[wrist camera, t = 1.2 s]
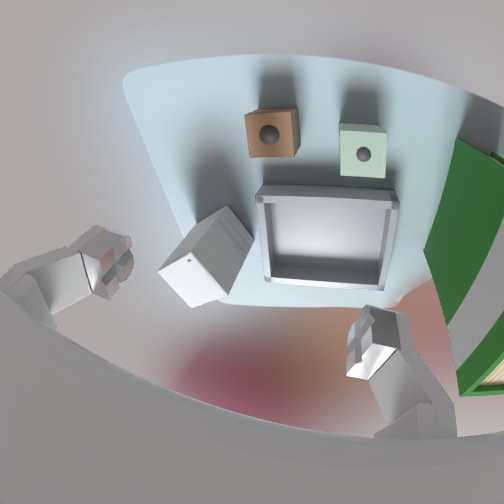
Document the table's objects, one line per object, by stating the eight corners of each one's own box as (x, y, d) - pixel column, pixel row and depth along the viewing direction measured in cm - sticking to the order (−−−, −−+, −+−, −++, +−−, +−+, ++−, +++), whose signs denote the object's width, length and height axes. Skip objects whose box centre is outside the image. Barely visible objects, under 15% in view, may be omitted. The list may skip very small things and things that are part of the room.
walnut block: (297, 107, 31) (290, 112, 26) (300, 145, 33) (294, 157, 29) (258, 109, 32) (244, 114, 27) (262, 145, 35) (249, 158, 30)
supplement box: (195, 223, 45) (154, 270, 35) (228, 203, 41) (190, 250, 31) (221, 257, 48) (190, 309, 38) (256, 241, 44) (229, 296, 34)
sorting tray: (394, 189, 33) (399, 202, 30) (381, 273, 40) (383, 290, 37) (262, 184, 38) (255, 195, 35) (270, 265, 46) (264, 281, 42)
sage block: (378, 125, 29) (387, 133, 24) (377, 163, 32) (385, 178, 27) (338, 122, 30) (339, 130, 25) (339, 160, 33) (340, 175, 28)
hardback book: (456, 138, 26) (575, 234, 7) (496, 154, 24) (608, 255, 5) (423, 250, 36) (459, 396, 17) (460, 259, 34) (506, 393, 16)
